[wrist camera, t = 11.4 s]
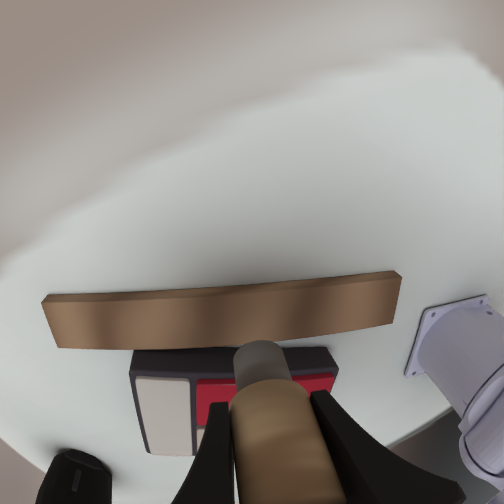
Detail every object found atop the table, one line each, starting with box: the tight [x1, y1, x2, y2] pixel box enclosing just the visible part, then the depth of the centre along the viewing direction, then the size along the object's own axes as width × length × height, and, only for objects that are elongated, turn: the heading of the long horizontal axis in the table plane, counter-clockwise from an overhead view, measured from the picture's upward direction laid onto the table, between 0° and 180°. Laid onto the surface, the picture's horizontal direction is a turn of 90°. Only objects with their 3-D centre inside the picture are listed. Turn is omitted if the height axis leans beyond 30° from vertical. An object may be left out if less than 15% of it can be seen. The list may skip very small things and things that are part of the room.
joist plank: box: [41, 271, 402, 350], centre depth 20 cm, size 26×4×1 cm, turn 92°
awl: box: [229, 340, 347, 504], centre depth 10 cm, size 3×3×8 cm
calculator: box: [129, 347, 339, 456], centre depth 22 cm, size 11×4×15 cm
